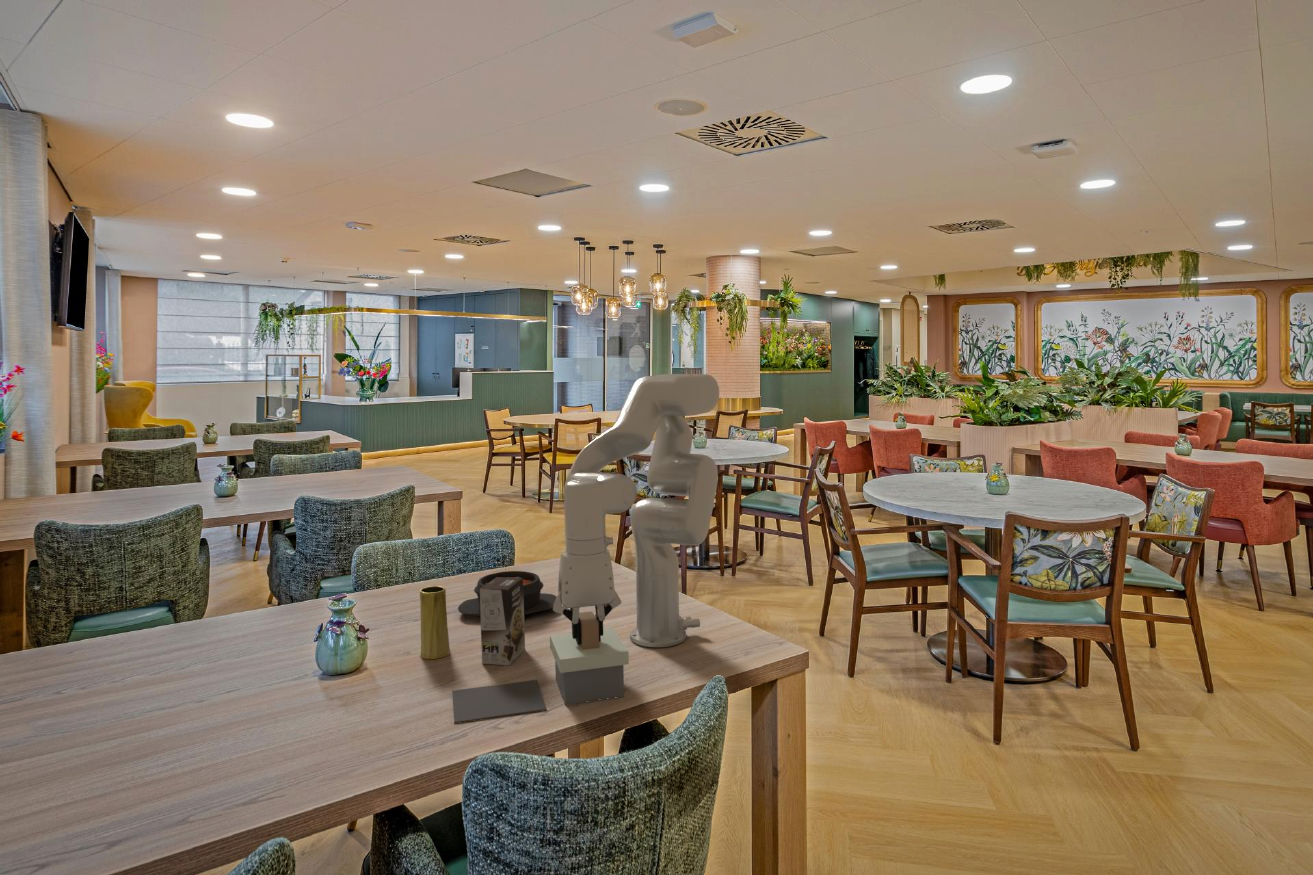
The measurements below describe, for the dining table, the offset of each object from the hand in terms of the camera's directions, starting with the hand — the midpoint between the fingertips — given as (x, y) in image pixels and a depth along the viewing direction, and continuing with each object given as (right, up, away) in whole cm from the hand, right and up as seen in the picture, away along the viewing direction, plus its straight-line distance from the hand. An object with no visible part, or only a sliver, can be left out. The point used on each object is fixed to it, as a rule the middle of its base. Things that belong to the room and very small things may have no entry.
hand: (587, 639), depth 144 cm
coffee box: (-19, -8, +17) cm, 27 cm away
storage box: (0, -10, +1) cm, 10 cm away
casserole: (-24, -5, +46) cm, 52 cm away
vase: (-34, -8, +19) cm, 40 cm away
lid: (0, -3, 0) cm, 3 cm away
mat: (-16, -10, -4) cm, 20 cm away
